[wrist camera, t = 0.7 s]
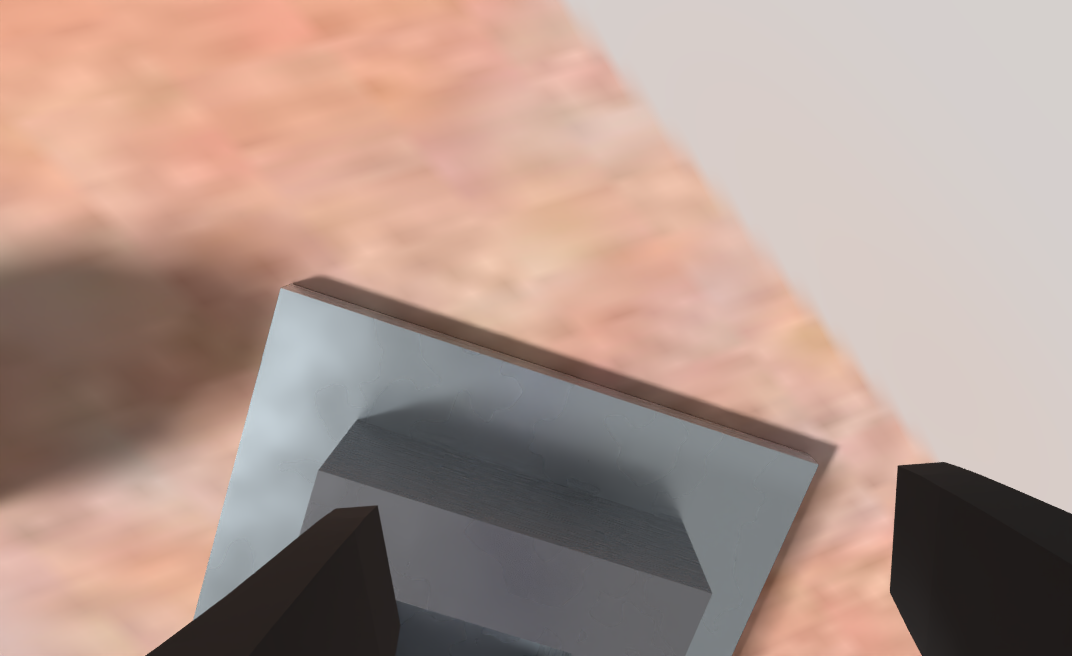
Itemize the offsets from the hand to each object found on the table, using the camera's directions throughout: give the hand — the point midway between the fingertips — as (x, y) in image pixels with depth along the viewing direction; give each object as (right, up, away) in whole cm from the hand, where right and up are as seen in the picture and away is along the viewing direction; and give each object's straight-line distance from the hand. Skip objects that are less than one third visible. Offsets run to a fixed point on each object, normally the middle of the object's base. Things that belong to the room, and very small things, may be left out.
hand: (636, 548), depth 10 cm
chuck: (-3, -6, +12) cm, 14 cm away
